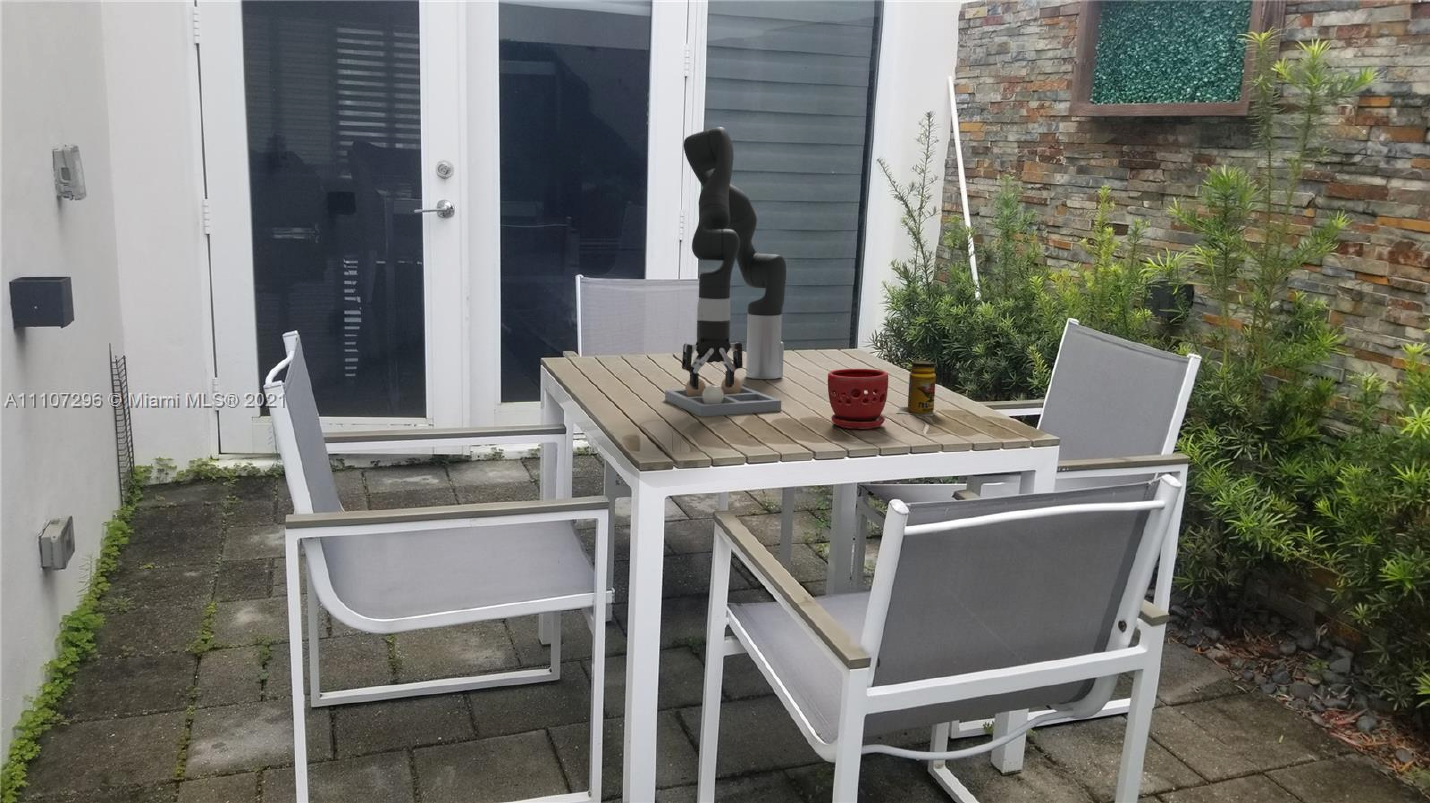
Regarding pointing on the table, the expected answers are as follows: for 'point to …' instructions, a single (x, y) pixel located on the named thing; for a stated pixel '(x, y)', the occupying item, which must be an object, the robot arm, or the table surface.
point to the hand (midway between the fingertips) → (711, 388)
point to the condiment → (921, 389)
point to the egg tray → (725, 403)
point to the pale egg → (712, 395)
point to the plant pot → (858, 397)
